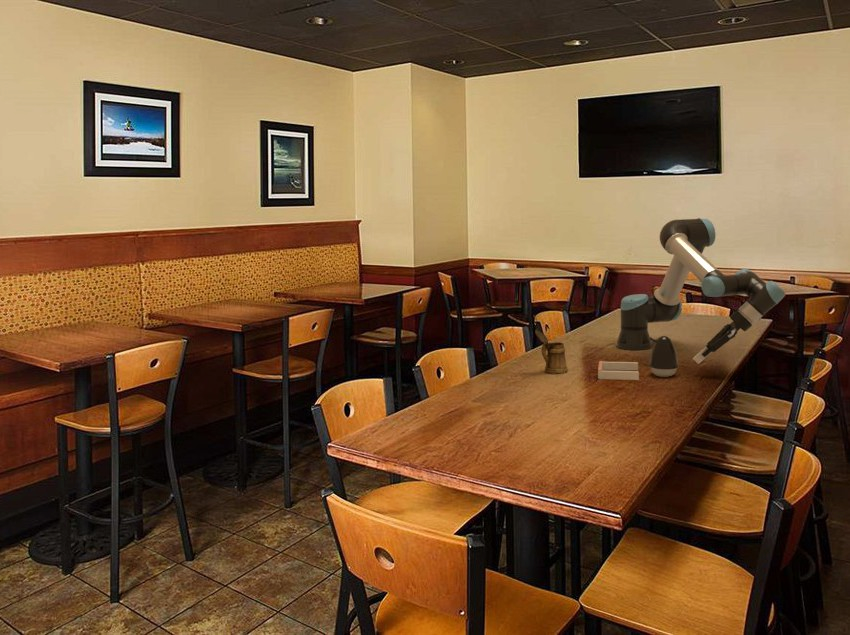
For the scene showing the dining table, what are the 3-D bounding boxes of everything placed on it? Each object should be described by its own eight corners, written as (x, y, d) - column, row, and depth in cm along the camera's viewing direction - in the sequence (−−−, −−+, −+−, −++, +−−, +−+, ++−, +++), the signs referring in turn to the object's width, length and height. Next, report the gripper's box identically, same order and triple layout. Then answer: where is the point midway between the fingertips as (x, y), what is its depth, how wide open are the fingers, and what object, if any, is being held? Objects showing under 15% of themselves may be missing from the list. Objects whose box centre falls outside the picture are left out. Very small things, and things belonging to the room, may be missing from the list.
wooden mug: (530, 372, 285) (529, 327, 283) (559, 367, 290) (559, 324, 288) (542, 376, 277) (541, 330, 275) (572, 372, 282) (571, 327, 280)
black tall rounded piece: (653, 371, 279) (653, 332, 276) (681, 373, 273) (681, 334, 270) (645, 376, 270) (645, 337, 268) (673, 379, 265) (673, 339, 262)
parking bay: (599, 369, 286) (599, 360, 285) (638, 369, 282) (638, 361, 281) (597, 378, 270) (597, 370, 270) (638, 380, 266) (638, 371, 266)
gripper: (756, 327, 254) (705, 372, 261) (750, 321, 266) (701, 364, 274) (740, 312, 255) (689, 357, 262) (735, 307, 267) (686, 350, 274)
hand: (695, 361), depth 268 cm, fingers closed
